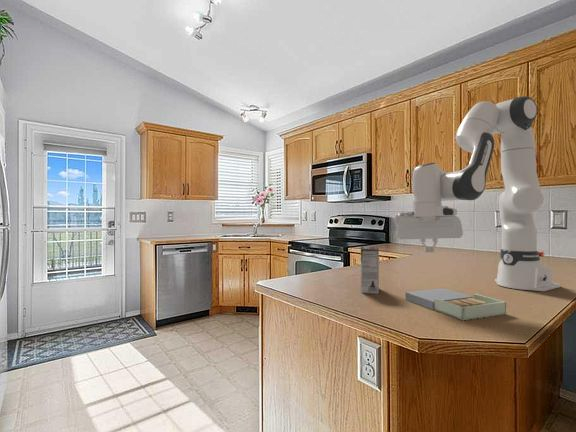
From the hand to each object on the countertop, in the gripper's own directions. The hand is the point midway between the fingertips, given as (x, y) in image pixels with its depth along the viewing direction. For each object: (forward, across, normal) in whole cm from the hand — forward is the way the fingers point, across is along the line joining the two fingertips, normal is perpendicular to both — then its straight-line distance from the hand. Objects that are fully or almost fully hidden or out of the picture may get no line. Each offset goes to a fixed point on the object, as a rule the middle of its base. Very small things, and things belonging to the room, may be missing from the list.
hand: (429, 252), depth 109 cm
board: (+16, +2, -4) cm, 16 cm away
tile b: (+15, +5, -13) cm, 21 cm away
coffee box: (+15, -21, +5) cm, 26 cm away
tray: (+16, +9, -12) cm, 22 cm away
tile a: (+16, +10, -9) cm, 21 cm away
